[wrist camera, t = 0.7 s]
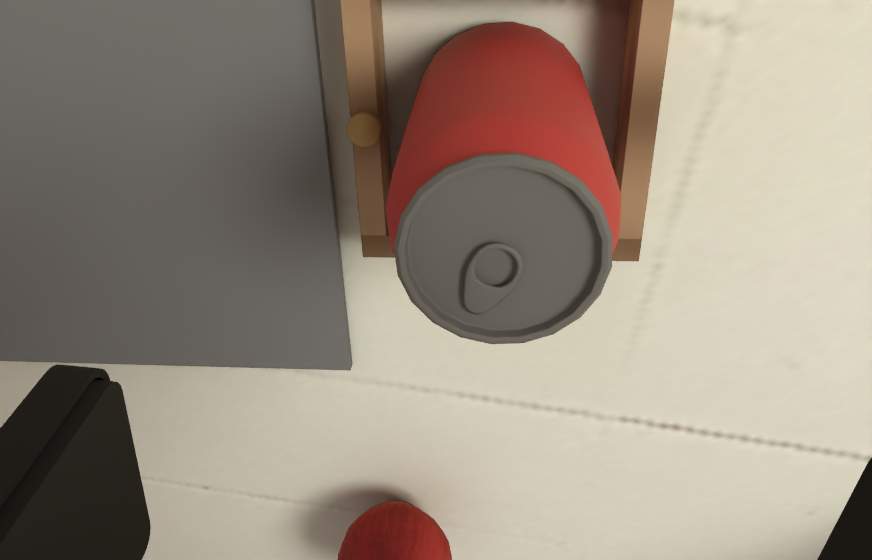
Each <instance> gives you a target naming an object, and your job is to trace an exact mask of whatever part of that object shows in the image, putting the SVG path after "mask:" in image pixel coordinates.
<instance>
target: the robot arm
mask: <svg viewBox="0 0 872 560" xmlns="http://www.w3.org/2000/svg"><path fill="white" fill-rule="evenodd" d="M149 537H150V520H149V515H148V510H147V505H146V501H145V496H144V491H143V486H142V482H141V477H140V472H139V467H138V462H137V458H136V453H135V448H134V443H133V439H132V434H131V429H130V424H129V420H128V415H127V410H126V405H125V400H124V396H123V391H122V388H121V385H120V384H119V383H118V382H113V381H110V378H109V376H108V373H107V372H106V371H105V370H104V369H99V368H89V367H79V366H68V365H55V366H52V367H51V368H50V369H49V370H48V371H47V372H46V373H45V374H44V375H43V377H42V378H41V379H40V380H39V381H38V383H37V384H36V385H35V386H34V388H33V389H32V390H31V391H30V393H29V394H28V395H27V396H26V397H25V399H24V400H23V401H22V402H21V404H20V405H19V406H18V407H17V409H16V410H15V411H14V412H13V414H12V415H11V416H10V417H9V418H8V420H7V421H6V422H5V423H4V425H3V426H2V427H1V428H0V560H142V558H143V556H144V553H145V551H146V549H147V545H148V542H149ZM818 560H872V458H871V459H870V461H869V462H868V464H867V465H866V467H865V469H864V471H863V473H862V475H861V477H860V479H859V481H858V483H857V485H856V487H855V489H854V490H853V492H852V494H851V496H850V498H849V500H848V502H847V504H846V506H845V508H844V510H843V512H842V513H841V515H840V517H839V519H838V521H837V523H836V525H835V527H834V529H833V531H832V533H831V535H830V536H829V538H828V540H827V542H826V544H825V546H824V548H823V550H822V552H821V554H820V556H819V558H818Z"/></svg>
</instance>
